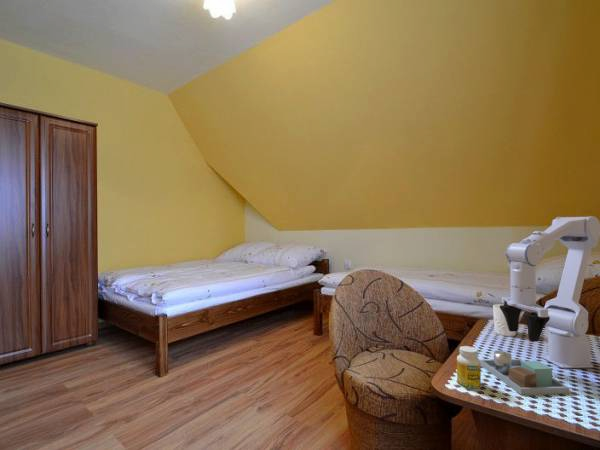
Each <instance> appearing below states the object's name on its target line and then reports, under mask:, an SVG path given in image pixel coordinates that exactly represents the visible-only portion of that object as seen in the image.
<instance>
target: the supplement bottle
mask: <svg viewBox="0 0 600 450" xmlns="http://www.w3.org/2000/svg"><path fill="white" fill-rule="evenodd" d="M480 360H481V359H480V358H478V350H477V348H474V347H472V346H468V345H464V346H460V347H459V354H458V355H457V356H456V383H457V385H458V386H460V387H462V388H464V389H467V390H470V391H471V390H472V391H473V390H474V391H476V390H480V389H481V386H482V385H481V384H482V381H481V379H482V378H481V373H482V372H481V371H482V370H481V369H482V368H481V367H482V366H481V363H480Z"/></svg>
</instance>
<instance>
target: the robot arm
mask: <svg viewBox="0 0 600 450" xmlns="http://www.w3.org/2000/svg"><path fill="white" fill-rule="evenodd" d="M599 239H600V220H599V219H598V218H597V217H596V216H594V215H590V216H565V217H564V216H557V217H555V218H554V219H552V222H551V225H550V226H549V227H548V228H547V229H545V230H544V231H540V230H539V231H538V230H535V231H533V232H532V234H530V235H529V236H528V237H526V238H523V239H522V240H521V241H519V242H513V243H511V244H509V245H508V246H507V248H506V251H505V252H504V256H505V259H506V262H507V268H508V269H509V270H510V272H509V273H510V274H509V275H510V277H509V278H510V281H509V282H510V284H509V285H510V296H501V303H502V304H504V305H500V309H501V310H502V312H503V314H504V316H505V319H506V322H507V325H508V329H509V331H516V332H518V330H519V324H520V323H519V322H520V316H521V313H522V311H525V312H528V313H523V314H522V316H523V318H524V320H525V323H526V328H527V336H528V341H530V342H539V341H540V338H541V335H542V332H543V330H544V328H545V330H546V331H547V354H541V355H540V357H541V358H542V359H544V360H546V361H548V362H550V363H551V364H554V365H555V366H558V367H559V368H561V369H580V368H583V369H584V368H585V369H586V368H587V369H588V368H594V365H593V364H592V362H591V361H592V360H591V359H592V358H591V357H592V356H591V354H592V353H591V350H592V347H591V342H590V339H589V338H588V337H587V335H586V333H587V332H588V330H589V329H588V328H589V312H588V310H587V309H586V308H585V307H584V306H583V305H581V304H580V298H581V295H582V291H583V287H584V286H583V285H584V281H585V276H586V272H587V268H588V264H589V260H590V258H591V253H592V250H593V248H595V247H597V246H598V243H599ZM556 241H559V243H560V244H561V246H564V247H566V248H567V250H568V251H567V254H566V258H565V263H564V266H563V270H562V271H563V272H562V275H561V278H560V282H559V286H558V290H557V294H556V297H554V298H552V299H548V300H546V301H545V305H544V307H543V306H541V305H539V303H538V304H537V287H536V286H537V280H536V279H537V272H536V271H537V267H536V266H537V265H539V264H540V262H541V260H542V258H543V256H544V254H545V253H546V252H548V251H549V250H551V249H552V248H554V245H555V242H556Z"/></svg>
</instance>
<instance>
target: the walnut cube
mask: <svg viewBox="0 0 600 450" xmlns="http://www.w3.org/2000/svg"><path fill="white" fill-rule="evenodd" d="M509 379H510V380H511V381H513V382H514V383H516V384H517V385H518V386H520V387H521V388H525V387H536V373H534V372H532V371H530V370H528V369H525V368H523V367H521V366H520V367H514V368H509Z"/></svg>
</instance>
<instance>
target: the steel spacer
mask: <svg viewBox="0 0 600 450" xmlns="http://www.w3.org/2000/svg"><path fill="white" fill-rule="evenodd" d="M511 359H512V354H511V353H509V352H507V351H503V350H495V351H494V352H493V360H494V369H496V370H497V371H498V372H500V373H501V374H503V375H509V368H511Z"/></svg>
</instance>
